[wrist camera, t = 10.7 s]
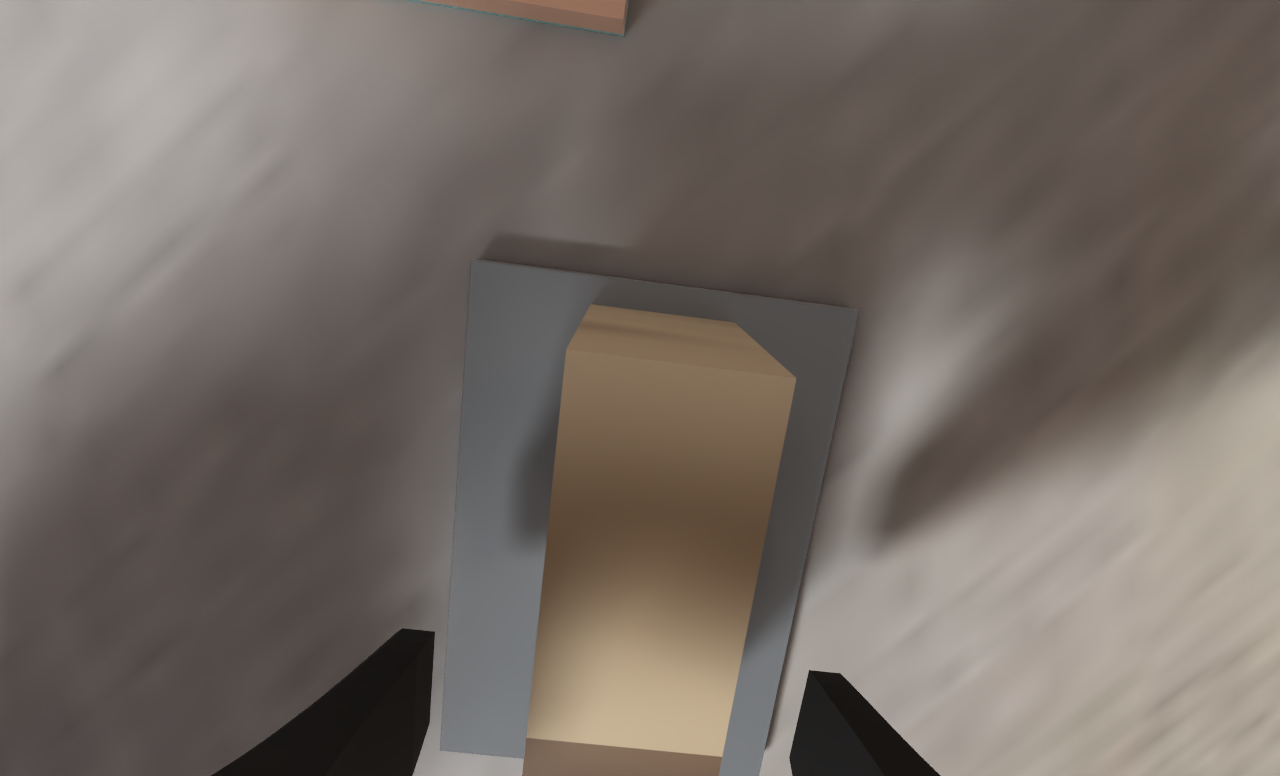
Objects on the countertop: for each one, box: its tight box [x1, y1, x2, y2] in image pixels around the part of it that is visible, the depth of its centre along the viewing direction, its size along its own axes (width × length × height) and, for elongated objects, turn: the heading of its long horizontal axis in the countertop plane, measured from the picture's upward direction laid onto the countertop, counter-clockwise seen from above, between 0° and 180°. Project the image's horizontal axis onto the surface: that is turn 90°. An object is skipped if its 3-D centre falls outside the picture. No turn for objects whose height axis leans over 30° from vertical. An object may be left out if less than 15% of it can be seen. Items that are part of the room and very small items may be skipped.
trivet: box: [440, 259, 859, 776], centre depth 15 cm, size 12×8×1 cm, turn 173°
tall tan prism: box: [522, 304, 796, 776], centre depth 12 cm, size 10×3×5 cm, turn 173°
